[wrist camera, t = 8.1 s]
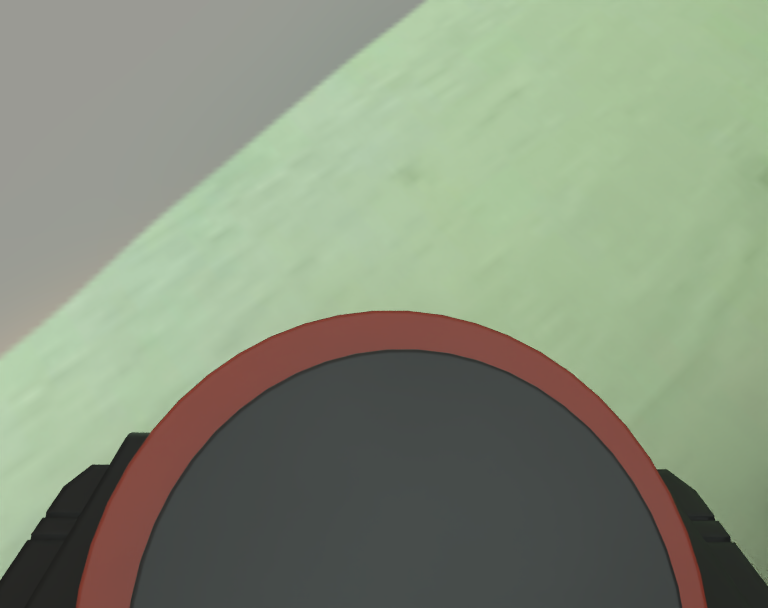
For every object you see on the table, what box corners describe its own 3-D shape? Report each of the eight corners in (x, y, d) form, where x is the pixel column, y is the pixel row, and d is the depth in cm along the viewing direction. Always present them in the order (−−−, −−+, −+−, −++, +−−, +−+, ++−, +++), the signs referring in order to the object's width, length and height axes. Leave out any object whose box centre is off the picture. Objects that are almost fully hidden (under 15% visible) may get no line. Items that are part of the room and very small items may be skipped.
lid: (405, 385, 15) (479, 146, 7) (578, 623, 14) (994, 726, 5) (170, 544, 14) (-145, 505, 5) (329, 840, 12) (270, 1604, 3)
